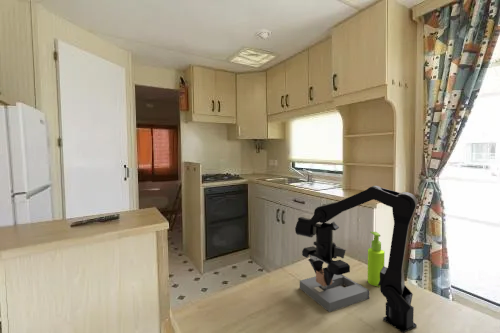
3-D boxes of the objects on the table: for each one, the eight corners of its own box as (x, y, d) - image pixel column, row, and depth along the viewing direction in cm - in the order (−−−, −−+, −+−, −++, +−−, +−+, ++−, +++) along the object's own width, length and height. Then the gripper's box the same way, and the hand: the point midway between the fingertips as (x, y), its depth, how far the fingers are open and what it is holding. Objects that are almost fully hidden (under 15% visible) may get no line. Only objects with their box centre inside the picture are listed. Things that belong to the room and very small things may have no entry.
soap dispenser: (379, 278, 101) (379, 230, 100) (386, 287, 94) (387, 236, 93) (364, 277, 101) (365, 230, 101) (370, 286, 95) (371, 235, 94)
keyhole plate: (336, 278, 101) (336, 271, 101) (369, 298, 86) (369, 290, 86) (299, 288, 93) (299, 280, 93) (329, 312, 79) (329, 303, 78)
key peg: (332, 296, 87) (333, 273, 86) (323, 299, 85) (323, 275, 85) (324, 290, 91) (324, 268, 90) (315, 293, 89) (315, 270, 89)
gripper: (361, 244, 82) (361, 290, 83) (323, 230, 99) (323, 267, 99) (337, 250, 77) (336, 298, 78) (301, 233, 94) (301, 273, 95)
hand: (324, 282), depth 88 cm, fingers closed on key peg, 4 cm apart
